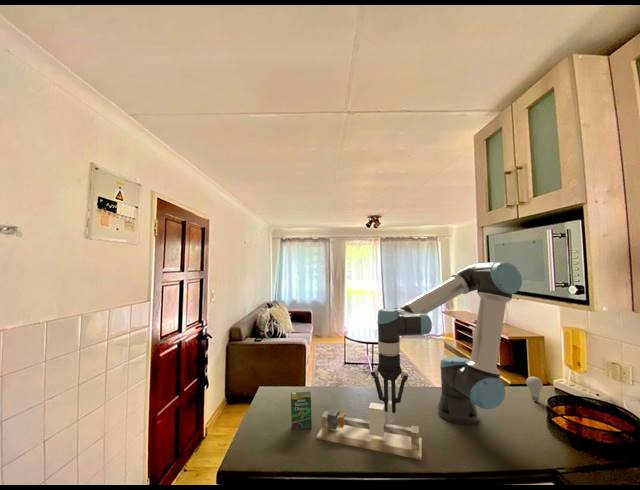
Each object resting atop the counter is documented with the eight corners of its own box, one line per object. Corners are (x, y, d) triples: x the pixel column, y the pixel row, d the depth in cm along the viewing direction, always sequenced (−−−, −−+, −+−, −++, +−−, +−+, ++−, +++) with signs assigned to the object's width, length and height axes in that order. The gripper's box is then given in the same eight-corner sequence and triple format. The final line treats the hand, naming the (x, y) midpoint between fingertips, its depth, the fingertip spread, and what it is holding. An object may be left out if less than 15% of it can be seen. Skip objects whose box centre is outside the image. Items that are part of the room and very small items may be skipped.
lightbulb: (547, 404, 130) (545, 379, 131) (533, 404, 130) (532, 379, 131) (537, 398, 136) (535, 374, 137) (524, 398, 136) (522, 374, 137)
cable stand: (421, 440, 104) (421, 418, 104) (421, 459, 93) (420, 435, 94) (326, 423, 116) (325, 403, 116) (316, 438, 105) (316, 417, 106)
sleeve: (385, 430, 105) (384, 404, 105) (383, 437, 101) (383, 409, 101) (371, 428, 106) (370, 402, 107) (369, 434, 102) (368, 407, 103)
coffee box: (290, 430, 110) (290, 394, 111) (290, 426, 113) (290, 391, 114) (311, 429, 111) (311, 394, 112) (311, 425, 114) (311, 391, 115)
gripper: (408, 351, 106) (410, 419, 104) (372, 348, 110) (373, 413, 108) (407, 357, 98) (409, 430, 97) (369, 354, 103) (370, 423, 101)
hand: (390, 421), depth 102 cm, fingers closed
